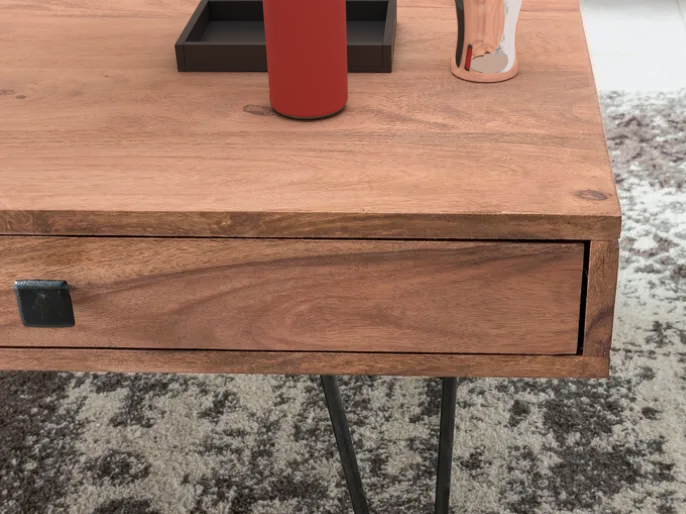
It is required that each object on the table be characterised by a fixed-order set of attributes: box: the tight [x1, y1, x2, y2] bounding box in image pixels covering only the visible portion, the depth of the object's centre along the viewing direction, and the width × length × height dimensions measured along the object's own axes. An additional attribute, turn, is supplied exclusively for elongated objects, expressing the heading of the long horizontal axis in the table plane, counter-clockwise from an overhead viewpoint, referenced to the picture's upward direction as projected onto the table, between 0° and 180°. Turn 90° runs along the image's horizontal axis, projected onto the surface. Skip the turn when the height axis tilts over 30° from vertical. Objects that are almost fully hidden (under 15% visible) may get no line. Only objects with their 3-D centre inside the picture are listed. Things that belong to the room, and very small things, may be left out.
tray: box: [174, 0, 398, 73], centre depth 100 cm, size 20×14×2 cm
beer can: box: [263, 0, 349, 120], centre depth 85 cm, size 7×7×12 cm
